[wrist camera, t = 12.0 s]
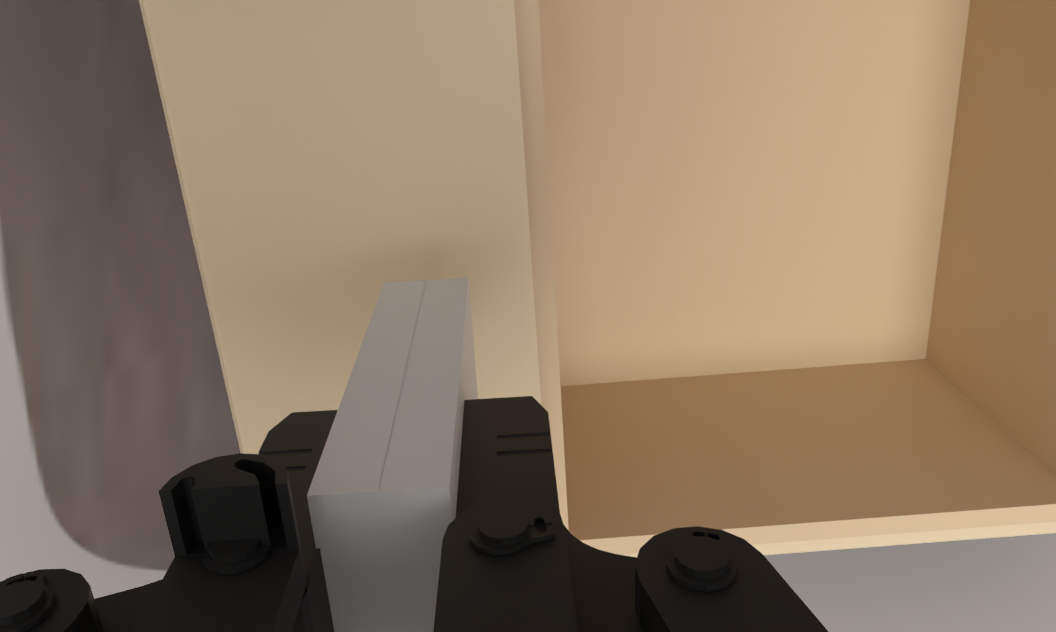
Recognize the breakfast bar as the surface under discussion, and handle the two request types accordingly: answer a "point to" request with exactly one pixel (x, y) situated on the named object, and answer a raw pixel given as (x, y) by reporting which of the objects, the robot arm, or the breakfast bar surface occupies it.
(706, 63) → the carton
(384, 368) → the robot arm
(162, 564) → the breakfast bar surface
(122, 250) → the breakfast bar surface
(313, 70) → the flap
